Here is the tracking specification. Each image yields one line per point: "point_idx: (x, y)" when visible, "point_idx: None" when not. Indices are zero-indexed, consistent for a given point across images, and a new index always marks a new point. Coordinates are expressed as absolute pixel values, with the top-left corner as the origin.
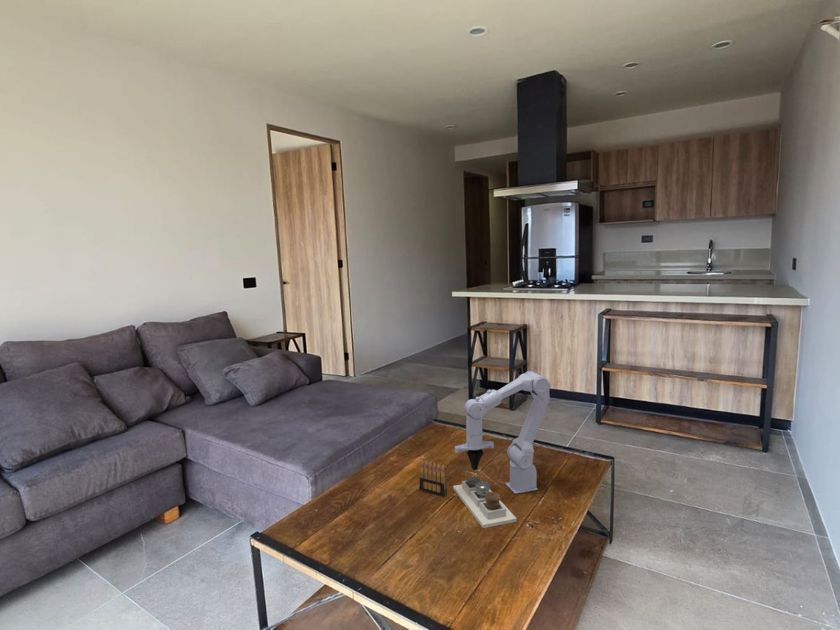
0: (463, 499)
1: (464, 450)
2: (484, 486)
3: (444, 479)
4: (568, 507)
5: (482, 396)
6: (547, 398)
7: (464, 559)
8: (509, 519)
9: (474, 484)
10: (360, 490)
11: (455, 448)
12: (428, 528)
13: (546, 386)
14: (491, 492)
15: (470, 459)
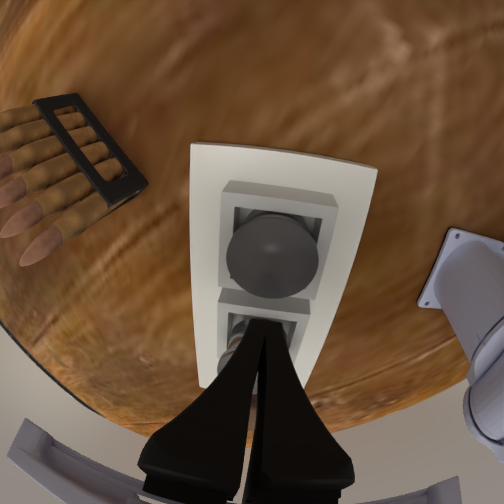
0: (191, 278)
1: (113, 480)
2: (254, 385)
3: (88, 227)
4: (442, 381)
5: None
6: None
7: (140, 400)
8: None
9: (254, 293)
10: None
11: (24, 455)
12: (79, 319)
13: None
14: (254, 411)
15: (227, 377)
